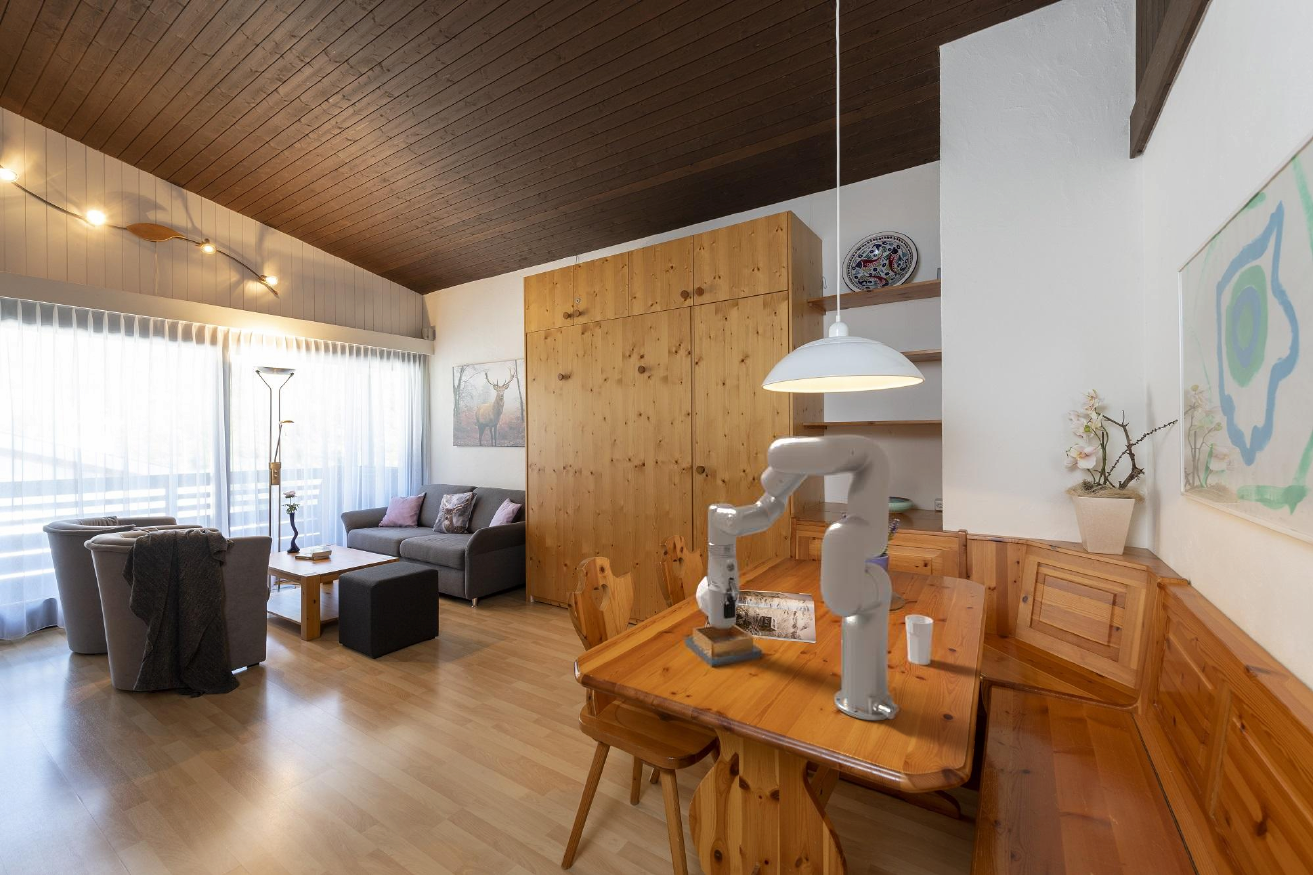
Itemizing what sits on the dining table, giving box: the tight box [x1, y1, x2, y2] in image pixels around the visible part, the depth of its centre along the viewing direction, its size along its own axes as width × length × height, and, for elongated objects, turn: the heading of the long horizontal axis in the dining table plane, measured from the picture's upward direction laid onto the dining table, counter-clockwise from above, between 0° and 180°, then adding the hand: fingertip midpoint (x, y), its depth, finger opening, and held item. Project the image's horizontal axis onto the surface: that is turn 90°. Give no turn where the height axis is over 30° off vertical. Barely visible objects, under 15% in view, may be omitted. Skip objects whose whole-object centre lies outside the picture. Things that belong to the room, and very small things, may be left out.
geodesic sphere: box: [695, 575, 740, 617], centre depth 184 cm, size 15×14×14 cm
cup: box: [905, 614, 934, 666], centre depth 148 cm, size 7×7×11 cm
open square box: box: [684, 623, 763, 668], centre depth 156 cm, size 16×15×5 cm
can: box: [708, 581, 737, 628], centre depth 155 cm, size 8×8×12 cm
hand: (722, 612), depth 155 cm, fingers closed on can, 7 cm apart
